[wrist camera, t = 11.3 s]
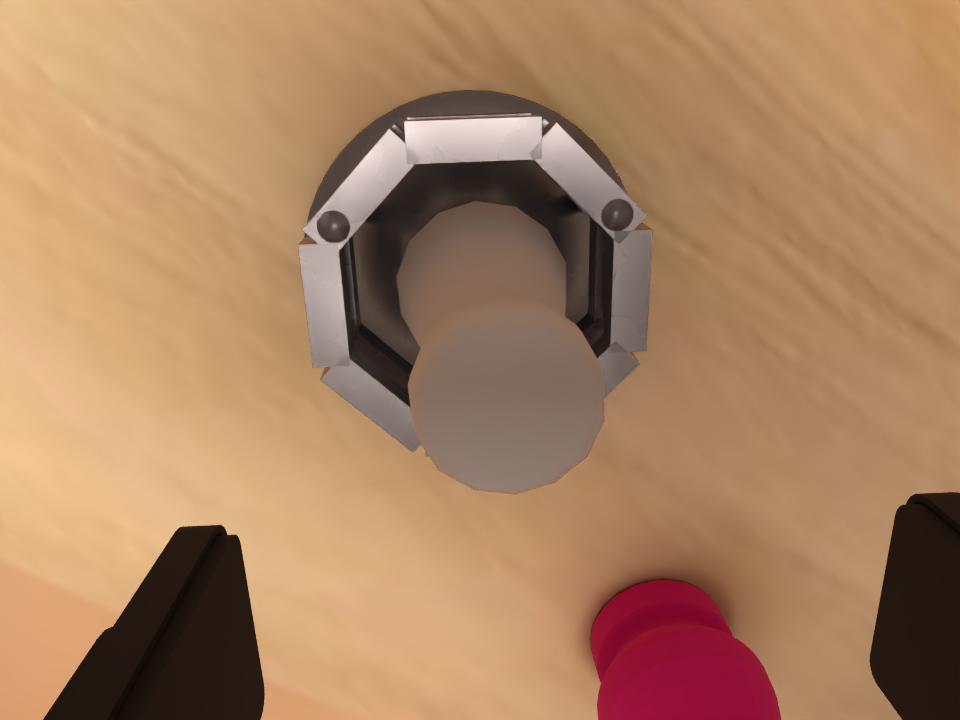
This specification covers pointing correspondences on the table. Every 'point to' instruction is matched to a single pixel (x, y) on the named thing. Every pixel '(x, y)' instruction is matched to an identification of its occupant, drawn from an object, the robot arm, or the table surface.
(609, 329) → the collar stand
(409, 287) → the salt shaker
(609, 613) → the pepper mill
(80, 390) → the table surface
